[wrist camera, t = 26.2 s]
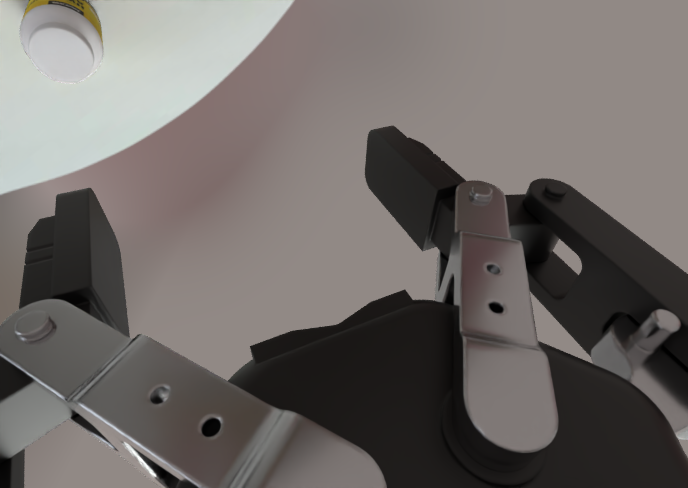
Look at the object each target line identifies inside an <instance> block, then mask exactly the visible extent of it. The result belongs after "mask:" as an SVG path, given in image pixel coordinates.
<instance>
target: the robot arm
mask: <svg viewBox="0 0 688 488" xmlns="http://www.w3.org/2000/svg"><path fill="white" fill-rule="evenodd" d="M365 178H366V182H367V184H368V187H369V189H370V190H371V191H372V192H373V194H374V195H375V196H376V197H377V198H378V199H379V201H380V202H381V203H382V204H383V205H384V206H385V208H386V209H387V210H388V211H389V212H390V214H391V215H392V216H393V217H394V218H395V219H396V221H397V222H398V223H399V224H400V225H401V226H402V228H403V229H404V230H405V231H406V232H407V233H408V235H409V236H410V237H411V238H412V239H413V241H414V242H415V243H416V244H417V245H418V246H419V248H420V249H421V250H422V251H425V250H428V249H431V248H434V247H437V248H438V249H439V253H438V258H437V271H436V272H437V273H436V287H435V301H433V300H412V298H411V297H410V296H409V294H408V293H407V292H406V290H402V291H400V292H397V293H394V294H391V295H389V296H386V297H383V298H381V299H378V300H375V301H372V302H370V303H369V304H367V305H366V306H364V307H363V308H361V309H360V310H358V311H357V312H356V313H354V314H353V315H351V316H350V317H348V318H347V319H345V320H344V321H343V322H341V323H339V324H337V325H333V326H325V327H318V328H310V329H303V330H295V331H290V332H288V333H285V334H282V335H280V336H277V337H274V338H272V339H269V340H266V341H263V342H260V343H258V344H255V345H253V346H250V348H251V353H252V357H253V360H251V361H250V362H248V363H247V364H245V365H244V366H243V367H242V368H241V369H239V370H238V371H237V372H236V373H235V374H234V375H233V376H232V377H231V378H230V379H229V380H228V381H226V380H225V379H223V378H221V377H219V376H218V375H216V374H214V373H212V372H210V371H209V370H207V369H205V368H203V367H201V366H200V365H198V364H196V363H194V362H193V361H191V360H189V359H187V358H186V357H184V356H182V355H180V354H178V353H177V352H175V351H173V350H171V349H170V348H168V347H166V346H164V345H162V344H161V343H159V342H157V341H155V340H153V339H152V338H150V337H148V336H145V335H142V334H139V335H137V336H136V337H135V338H134V339H131V338H130V336H129V327H128V318H127V308H126V299H125V289H124V280H123V272H122V262H121V253H120V249H119V245H118V242H117V239H116V236H115V234H114V232H113V230H112V228H111V226H110V224H109V222H108V220H107V218H106V215H105V213H104V211H103V209H102V207H101V206H100V203H99V201H98V199H97V197H96V195H95V194H94V192H93V190H92V189H91V188H86V189H82V190H77V191H72V192H67V193H62V194H58V195H57V196H56V208H55V216H51V217H47V218H42V219H39V221H38V222H37V223H36V225H35V226H34V227H33V229H32V230H31V231H30V233H29V234H28V241H27V248H26V249H27V253H26V257H25V264H26V265H25V266H24V273H23V282H22V289H21V297H20V305H19V310H18V311H16V312H14V313H13V314H12V315H11V316H9V317H8V318H7V319H6V320H5V321H4V322H3V323H2V324H1V326H0V488H24V451H25V450H24V449H25V448H26V447H27V446H29V445H30V444H32V443H33V442H35V441H36V440H38V439H39V438H41V437H42V436H44V435H45V434H47V433H48V432H50V431H51V430H53V429H54V428H56V427H57V426H59V425H60V424H62V423H63V422H65V421H66V420H68V419H69V420H70V421H72V422H73V423H74V424H76V425H77V426H79V427H80V428H81V429H83V430H84V431H86V432H87V433H88V434H90V435H91V436H93V437H94V438H95V439H97V440H98V441H100V442H101V443H103V444H104V445H105V446H107V447H108V448H110V449H111V450H113V451H114V452H115V453H117V454H118V455H119V456H121V457H122V458H124V459H125V460H126V461H127V462H129V463H130V464H131V465H132V466H134V467H135V468H136V469H137V470H138V471H140V472H141V473H142V474H143V475H145V476H146V477H147V478H148V479H150V480H151V481H152V482H154V483H155V484H157V485H158V486H159V487H161V488H688V458H687V456H686V454H685V453H684V451H683V449H682V447H681V445H680V443H679V440H678V439H683V440H688V274H687V273H686V272H684V271H683V270H682V269H680V268H679V267H678V266H676V265H675V264H674V263H672V262H671V261H670V260H668V259H667V258H666V257H664V256H663V255H662V254H660V253H659V252H658V251H656V250H655V249H654V248H652V247H651V246H650V245H648V244H647V243H646V242H644V241H643V240H642V239H640V238H639V237H638V236H636V235H635V234H634V233H632V232H631V231H630V230H628V229H627V228H626V227H624V226H623V225H622V224H620V223H619V222H618V221H616V220H615V219H614V218H612V217H611V216H610V215H608V214H607V213H606V212H604V211H603V210H601V208H599V207H598V206H597V205H595V204H594V203H593V202H591V201H590V200H589V199H587V198H586V197H584V196H583V195H582V194H581V193H579V192H578V191H577V190H575V189H574V188H573V187H571V186H570V185H568V184H565V183H563V182H561V181H557V180H554V179H537V180H535V181H533V182H532V183H531V184H530V186H529V188H528V190H527V193H526V194H523V195H504V193H503V192H502V191H501V190H500V189H499V188H497V187H496V186H494V185H492V184H489V183H486V182H483V181H466V180H465V179H464V178H462V177H461V176H460V175H459V174H458V173H457V172H455V171H454V170H453V169H452V168H451V167H450V166H448V165H447V164H446V163H445V162H444V161H441V159H440V158H439V157H438V156H437V155H436V154H433V152H432V151H431V150H430V149H429V148H428V147H426V146H425V145H424V144H423V143H420V142H418V141H416V140H414V139H411V138H407V137H406V136H405V135H404V134H403V133H402V132H400V131H399V130H398V129H397V128H396V127H394V126H388V127H383V128H379V129H374V130H371V131H370V132H369V134H368V140H367V153H366V165H365ZM559 239H561V240H562V241H563V242H564V243H565V244H566V245H567V246H568V247H570V248H571V249H572V250H573V251H574V252H575V253H576V254H577V255H578V256H579V258H580V259H581V262H582V270H581V273H580V274H579V275H578V274H577V273H575V272H574V271H573V270H572V269H571V268H570V267H569V266H568V265H567V264H566V263H565V262H564V261H563V260H562V259H560V258H559V257H558V256H557V255H556V254H555V253H554V252H553V249H554V247H555V245H556V243H557V242H558V240H559ZM530 292H531V293H532V294H533V295H534V296H535V297H536V298H537V299H538V300H539V301H540V303H541V304H542V305H544V307H545V308H546V309H547V310H548V311H549V312H550V313H551V314H552V315H553V317H554V318H555V319H556V320H557V321H558V322H559V323H560V324H561V325H562V326H563V327H564V328H565V330H567V332H568V333H569V334H570V335H571V336H572V337H573V338H574V339H575V340H576V341H577V343H578V344H580V346H581V347H582V348H583V349H584V350H585V351H586V352H587V353H588V354H589V355H590V357H591V359H592V362H593V364H592V363H590V362H587V361H585V360H582V359H580V358H578V357H575V356H573V355H571V354H568V353H566V352H563V351H561V350H559V349H556V348H554V347H551V346H549V345H547V344H544V343H542V342H539V341H538V340H537V334H536V327H535V321H534V315H533V308H532V302H531V297H530Z"/></svg>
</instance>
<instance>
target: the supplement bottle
mask: <svg viewBox="0 0 688 488" xmlns="http://www.w3.org/2000/svg"><path fill="white" fill-rule="evenodd" d="M20 40H21V43H22V46H23V48H24V50H25V52H26V54H27V55H28V57H29V58H30V59H31V61H32V62H33V64H34V65H35V67H36V68H37V69H38V70H39V71H40V72H41V73H42V74H44V75H45V76H46V77H48V78H50V79H52V80H54V81H57V82H60V83H66V84H73V83H78V82H81V81H83V80H85V79H86V78H87V77H89V76H91V75H92V74H94V73H95V72H96V71H97V70H98V68H99V67H100V65H101V63H102V60H103V41H102V30H101V24H100V20H99V18H98V16H97V14H96V12H95V10H94V9H93V7H92V6H91V5H90V4H89V3H88V2H87V1H86V0H30V1H29V3H28V5H27V8H26V11H25V13H24V16H23V19H22V21H21V25H20Z"/></svg>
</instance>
